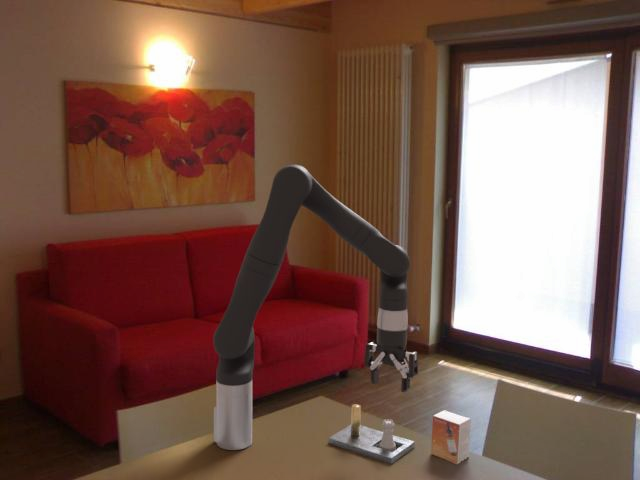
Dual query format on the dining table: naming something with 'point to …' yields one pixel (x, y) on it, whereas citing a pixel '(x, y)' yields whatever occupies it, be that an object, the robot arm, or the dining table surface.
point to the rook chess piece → (387, 436)
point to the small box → (450, 436)
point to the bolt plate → (368, 440)
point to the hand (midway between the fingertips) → (389, 387)
